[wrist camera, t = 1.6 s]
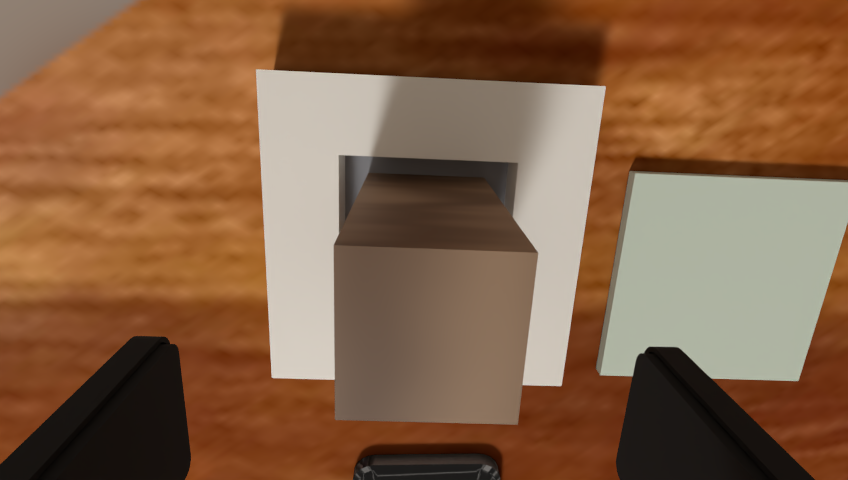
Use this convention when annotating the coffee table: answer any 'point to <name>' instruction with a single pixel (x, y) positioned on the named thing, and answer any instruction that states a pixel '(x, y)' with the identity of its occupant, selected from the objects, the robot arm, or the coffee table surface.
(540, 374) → the pocket plate
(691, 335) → the green mat
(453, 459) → the phone
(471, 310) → the walnut block
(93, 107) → the coffee table surface
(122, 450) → the robot arm
